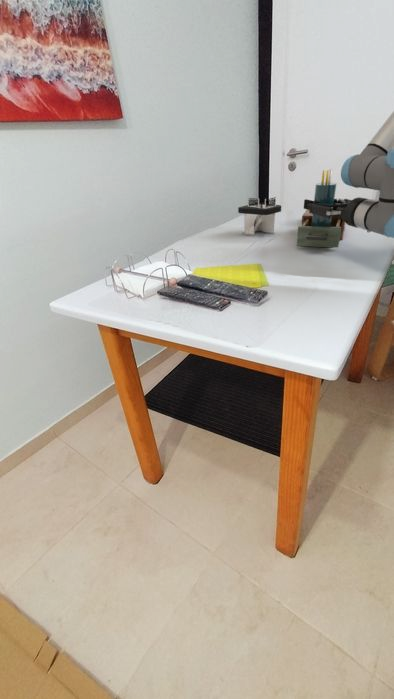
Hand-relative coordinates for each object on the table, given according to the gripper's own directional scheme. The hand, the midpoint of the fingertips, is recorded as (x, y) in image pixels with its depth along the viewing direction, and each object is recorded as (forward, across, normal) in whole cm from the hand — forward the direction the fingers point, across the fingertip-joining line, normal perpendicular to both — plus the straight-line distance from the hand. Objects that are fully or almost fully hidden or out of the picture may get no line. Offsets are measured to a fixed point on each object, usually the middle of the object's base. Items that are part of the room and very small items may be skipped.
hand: (314, 202), depth 110 cm
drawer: (-7, -1, -11) cm, 13 cm away
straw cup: (-5, 0, -9) cm, 10 cm away
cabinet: (+5, +9, -12) cm, 16 cm away
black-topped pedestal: (+18, -10, -13) cm, 24 cm away
